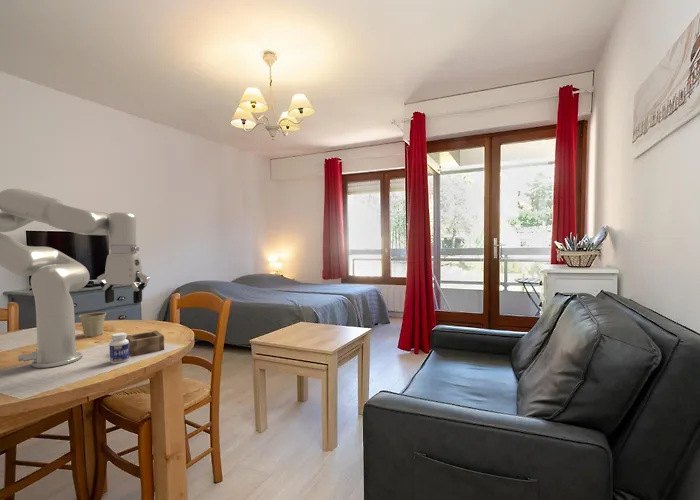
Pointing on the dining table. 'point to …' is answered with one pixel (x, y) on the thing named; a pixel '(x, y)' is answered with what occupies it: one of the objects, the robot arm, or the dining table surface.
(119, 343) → the pill bottle
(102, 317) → the flower pot
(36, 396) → the dining table surface
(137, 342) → the well
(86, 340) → the dining table surface
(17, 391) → the dining table surface
